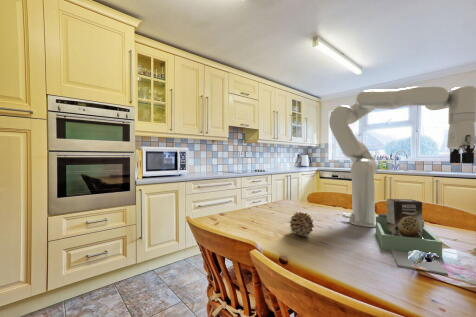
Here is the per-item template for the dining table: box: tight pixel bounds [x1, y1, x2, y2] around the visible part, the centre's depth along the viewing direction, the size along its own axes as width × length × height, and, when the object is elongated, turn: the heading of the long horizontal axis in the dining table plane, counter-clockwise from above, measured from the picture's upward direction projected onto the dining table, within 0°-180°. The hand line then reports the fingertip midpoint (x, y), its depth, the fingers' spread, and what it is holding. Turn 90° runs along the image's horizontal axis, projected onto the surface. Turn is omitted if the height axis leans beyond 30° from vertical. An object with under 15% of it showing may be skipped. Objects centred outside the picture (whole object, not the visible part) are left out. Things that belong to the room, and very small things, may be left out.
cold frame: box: [375, 213, 443, 259], centre depth 82 cm, size 16×20×8 cm
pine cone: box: [289, 211, 315, 237], centre depth 94 cm, size 22×10×10 cm, turn 175°
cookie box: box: [386, 198, 423, 239], centre depth 82 cm, size 9×6×16 cm
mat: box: [390, 250, 449, 276], centre depth 67 cm, size 11×12×1 cm
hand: (461, 163), depth 86 cm, fingers open, 9 cm apart
